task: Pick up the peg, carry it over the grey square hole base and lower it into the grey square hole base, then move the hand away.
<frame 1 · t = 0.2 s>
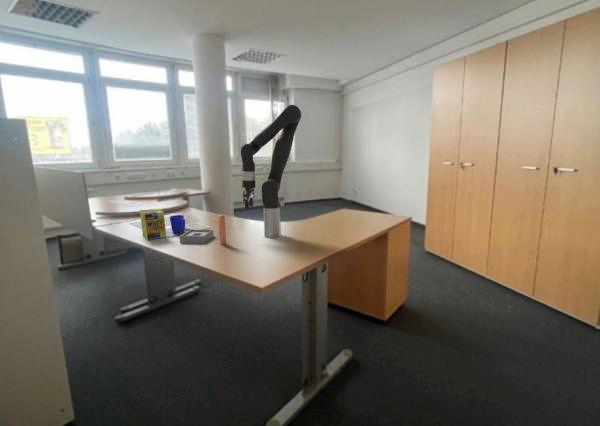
hand: (249, 207, 181), 17 cm above the table, tool pointing down, fingers open, 8 cm apart
mug: (180, 232, 195), on the table
protein box: (154, 236, 187), on the table
grey square hole base: (197, 239, 179), on the table
peg: (223, 244, 169), on the table
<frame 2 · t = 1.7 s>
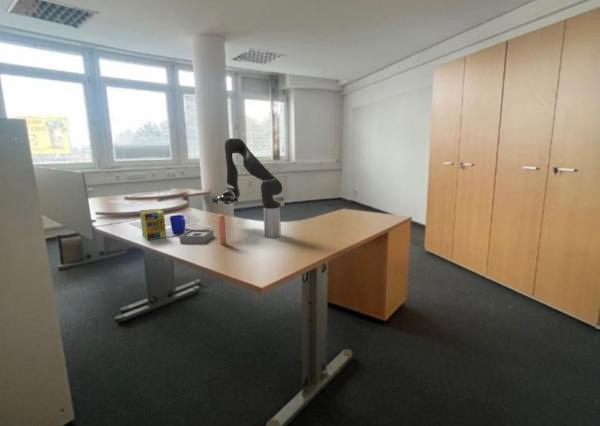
hand: (223, 201, 176), 22 cm above the table, tool horizontal, fingers open, 8 cm apart
nothing on the table moved.
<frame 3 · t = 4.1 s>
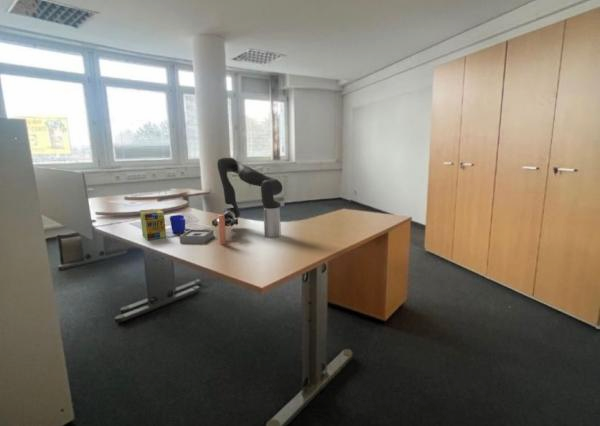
hand: (223, 224, 172), 10 cm above the table, tool horizontal, fingers open, 8 cm apart
nothing on the table moved.
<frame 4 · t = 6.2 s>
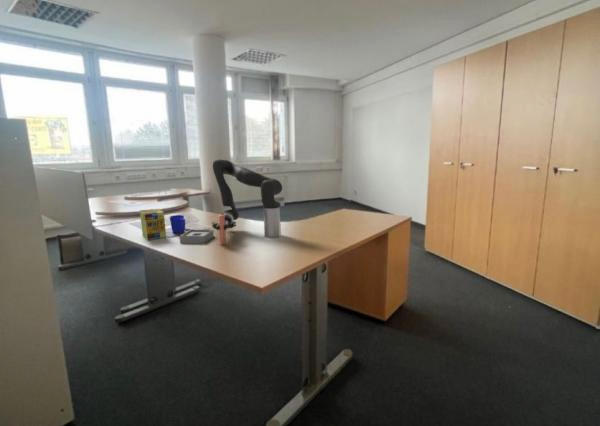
hand: (221, 228, 165), 10 cm above the table, tool horizontal, fingers closed on peg, 3 cm apart
peg: (223, 244, 169), on the table, touching gripper
everything else where it was.
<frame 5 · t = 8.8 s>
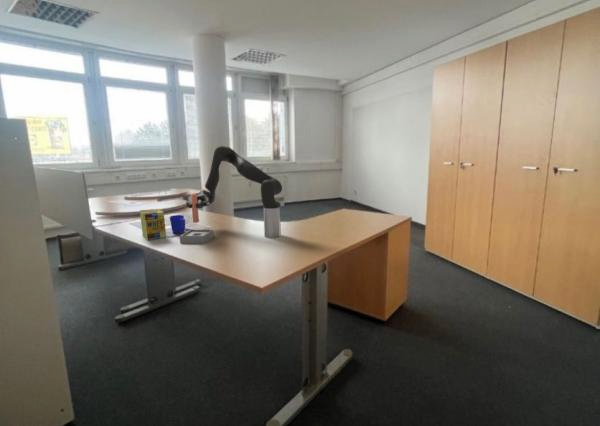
hand: (193, 206, 172), 20 cm above the table, tool horizontal, fingers closed on peg, 3 cm apart
peg: (196, 222, 177), point 10 cm above the table, touching gripper
everything else where it was.
when the fingers open (10 cm above the table, at t = 11.4 s): peg stays where it is, resting in grey square hole base.
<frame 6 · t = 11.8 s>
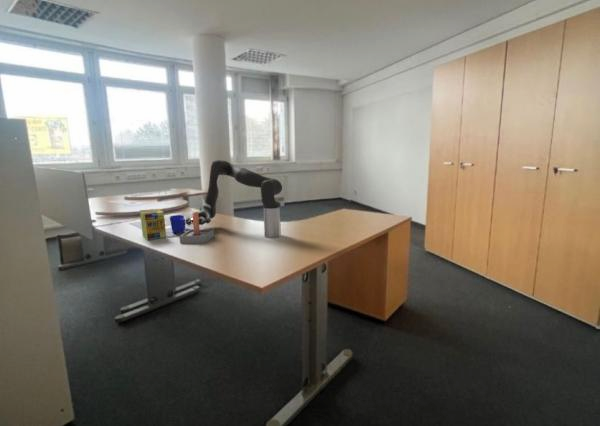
hand: (195, 223, 175), 10 cm above the table, tool horizontal, fingers open, 6 cm apart
peg: (197, 239, 179), resting in grey square hole base
everything else where it was.
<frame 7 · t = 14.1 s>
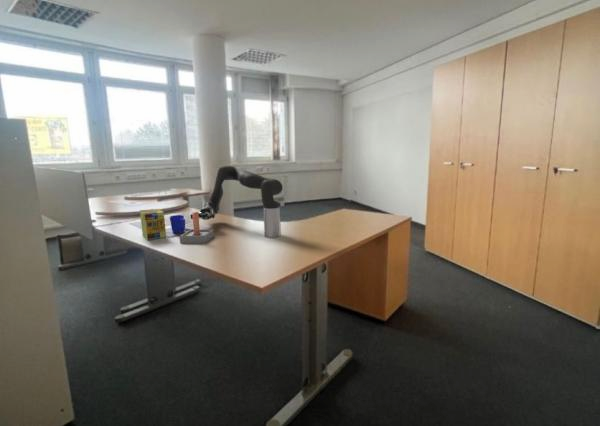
hand: (200, 218, 188), 10 cm above the table, tool horizontal, fingers open, 8 cm apart
nothing on the table moved.
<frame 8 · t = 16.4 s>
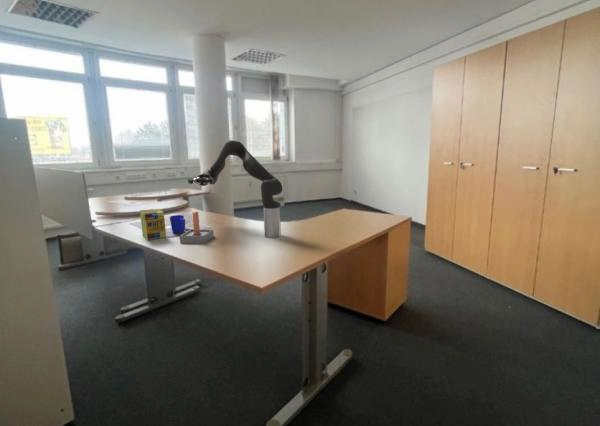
hand: (198, 181, 183), 32 cm above the table, tool horizontal, fingers open, 8 cm apart
nothing on the table moved.
at the end: peg 0.1 cm off-centre on the grey square hole base, point 0.0 cm above the grey square hole base's base; peg tilted 0°; the gripper is holding nothing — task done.
